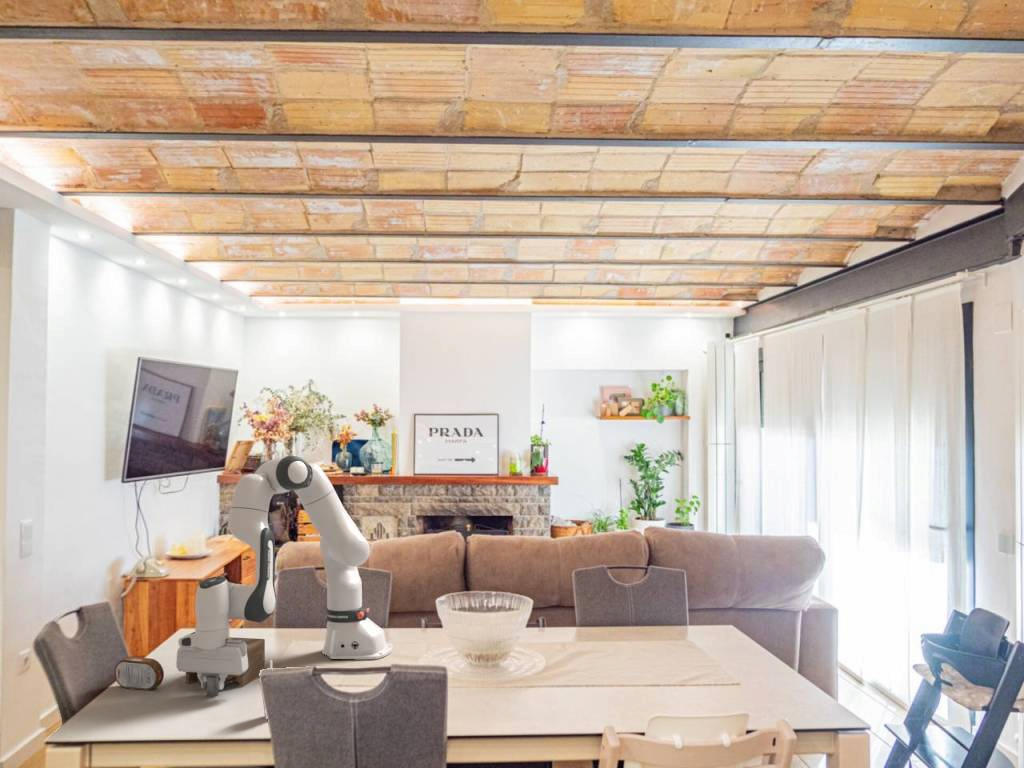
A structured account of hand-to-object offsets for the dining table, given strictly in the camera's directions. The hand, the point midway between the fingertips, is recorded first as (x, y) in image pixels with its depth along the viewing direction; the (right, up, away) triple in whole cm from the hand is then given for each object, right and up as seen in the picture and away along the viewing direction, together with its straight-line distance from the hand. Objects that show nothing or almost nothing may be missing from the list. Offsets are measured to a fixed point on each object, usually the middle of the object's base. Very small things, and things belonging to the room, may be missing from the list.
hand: (212, 688), depth 215 cm
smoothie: (+22, -1, -17) cm, 28 cm away
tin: (-23, -3, +6) cm, 24 cm away
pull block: (+2, -2, +8) cm, 8 cm away
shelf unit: (-1, -2, +14) cm, 14 cm away
